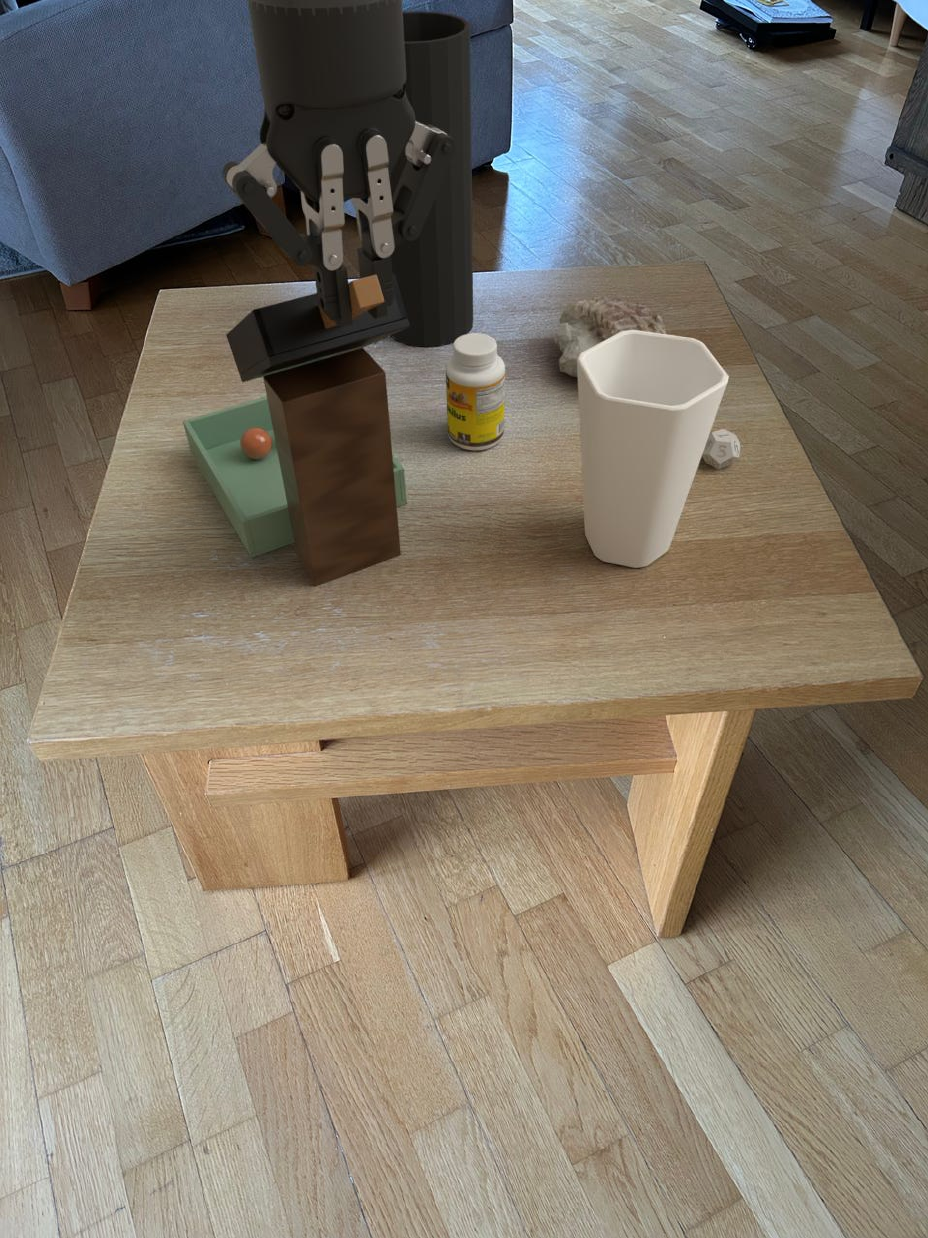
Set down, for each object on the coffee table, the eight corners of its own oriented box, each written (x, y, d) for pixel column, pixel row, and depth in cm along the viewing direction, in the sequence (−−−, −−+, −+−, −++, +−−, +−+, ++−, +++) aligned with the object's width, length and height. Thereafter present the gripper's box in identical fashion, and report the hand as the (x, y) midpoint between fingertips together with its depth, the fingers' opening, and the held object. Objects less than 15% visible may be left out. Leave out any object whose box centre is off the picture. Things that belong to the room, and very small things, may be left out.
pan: (299, 349, 54) (278, 285, 53) (242, 382, 72) (225, 334, 71) (454, 306, 57) (437, 245, 57) (363, 347, 75) (349, 301, 74)
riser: (315, 586, 80) (282, 402, 67) (297, 558, 82) (262, 375, 69) (401, 554, 82) (385, 371, 69) (381, 528, 85) (363, 347, 72)
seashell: (526, 323, 104) (582, 245, 98) (586, 345, 110) (642, 273, 104) (581, 413, 96) (645, 335, 90) (641, 431, 102) (705, 359, 96)
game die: (742, 471, 90) (749, 445, 87) (704, 474, 89) (709, 448, 87) (730, 449, 92) (736, 423, 90) (693, 452, 92) (698, 426, 90)
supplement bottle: (439, 428, 95) (435, 335, 88) (490, 415, 97) (490, 322, 89) (460, 459, 92) (458, 364, 84) (513, 445, 93) (515, 351, 86)
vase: (373, 341, 107) (344, 39, 86) (398, 298, 114) (377, 8, 92) (461, 351, 105) (455, 45, 84) (482, 307, 112) (481, 13, 91)
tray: (251, 558, 82) (242, 522, 79) (191, 455, 93) (182, 420, 90) (407, 503, 87) (404, 468, 84) (334, 411, 98) (329, 377, 95)
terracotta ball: (249, 469, 90) (243, 443, 88) (238, 452, 92) (233, 426, 90) (279, 459, 91) (274, 434, 89) (267, 442, 93) (263, 417, 91)
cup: (699, 516, 85) (736, 343, 73) (682, 592, 78) (719, 416, 66) (577, 493, 88) (592, 323, 75) (550, 565, 81) (562, 391, 69)
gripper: (209, 17, 42) (273, 373, 54) (484, -21, 46) (486, 315, 58) (163, -14, 47) (231, 319, 59) (416, -46, 51) (431, 269, 63)
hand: (358, 315), depth 58 cm, fingers closed on pan, 2 cm apart
